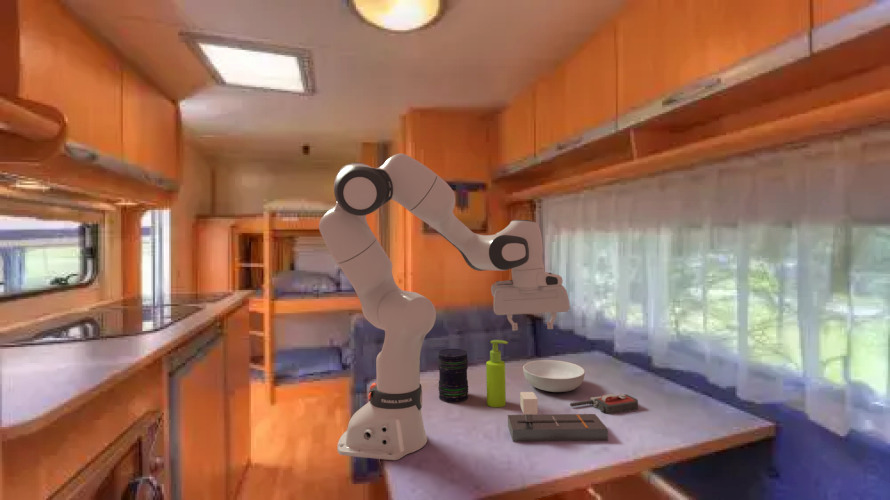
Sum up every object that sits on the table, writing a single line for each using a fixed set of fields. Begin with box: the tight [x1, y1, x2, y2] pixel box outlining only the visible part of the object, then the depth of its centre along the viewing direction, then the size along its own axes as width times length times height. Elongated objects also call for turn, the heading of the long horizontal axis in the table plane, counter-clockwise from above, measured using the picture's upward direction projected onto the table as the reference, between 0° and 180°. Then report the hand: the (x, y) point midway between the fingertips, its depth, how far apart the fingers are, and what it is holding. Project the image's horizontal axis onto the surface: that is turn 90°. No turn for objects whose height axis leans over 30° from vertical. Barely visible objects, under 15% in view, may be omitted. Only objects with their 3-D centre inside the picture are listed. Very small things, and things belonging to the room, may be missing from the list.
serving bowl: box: [522, 359, 586, 393], centre depth 140 cm, size 21×21×7 cm
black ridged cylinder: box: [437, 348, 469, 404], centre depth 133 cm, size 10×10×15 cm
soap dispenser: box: [485, 339, 509, 408], centre depth 126 cm, size 6×7×20 cm
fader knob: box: [519, 391, 539, 422], centre depth 106 cm, size 4×5×7 cm
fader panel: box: [507, 413, 609, 442], centre depth 106 cm, size 24×9×3 cm, turn 89°
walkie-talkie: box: [569, 393, 639, 415], centre depth 122 cm, size 9×4×20 cm
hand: (532, 329), depth 109 cm, fingers open, 8 cm apart
